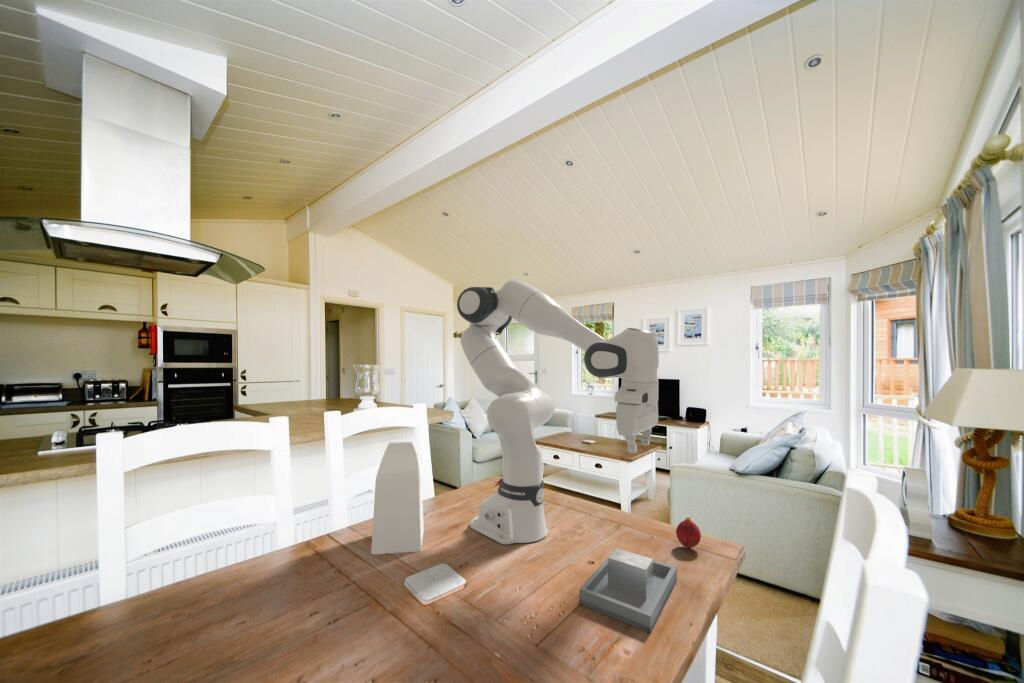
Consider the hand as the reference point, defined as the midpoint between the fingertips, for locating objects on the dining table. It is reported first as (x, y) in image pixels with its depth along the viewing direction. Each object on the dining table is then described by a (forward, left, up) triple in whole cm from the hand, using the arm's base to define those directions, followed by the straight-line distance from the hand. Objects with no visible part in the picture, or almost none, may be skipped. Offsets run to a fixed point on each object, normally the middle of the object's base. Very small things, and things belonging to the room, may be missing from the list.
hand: (639, 448), depth 99 cm
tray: (+3, -16, -26) cm, 31 cm away
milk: (-54, -30, -27) cm, 67 cm away
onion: (+9, +11, -27) cm, 30 cm away
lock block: (+3, -16, -25) cm, 30 cm away
